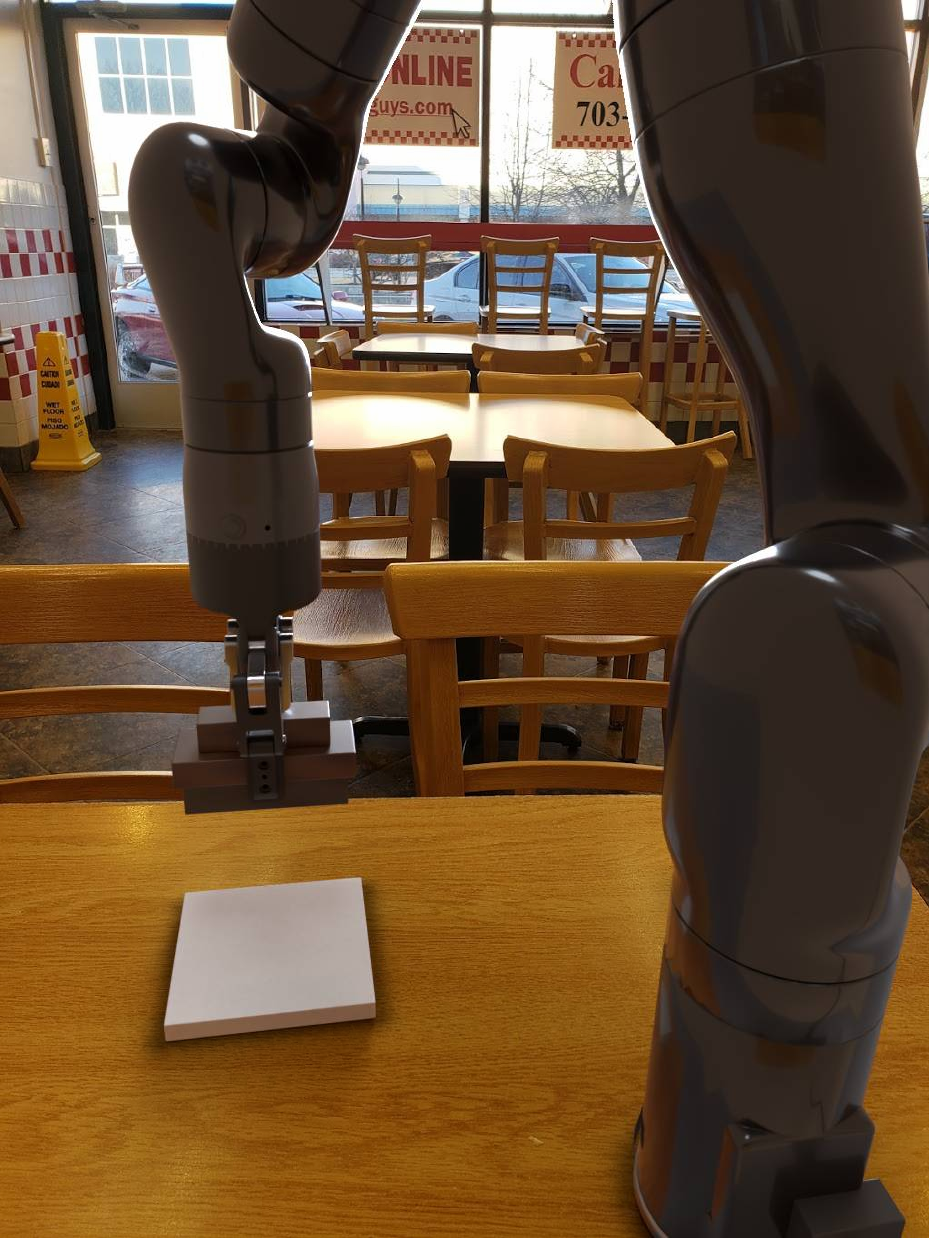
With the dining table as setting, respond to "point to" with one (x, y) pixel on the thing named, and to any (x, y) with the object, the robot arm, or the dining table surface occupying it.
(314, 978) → the tile
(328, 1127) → the dining table surface
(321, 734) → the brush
